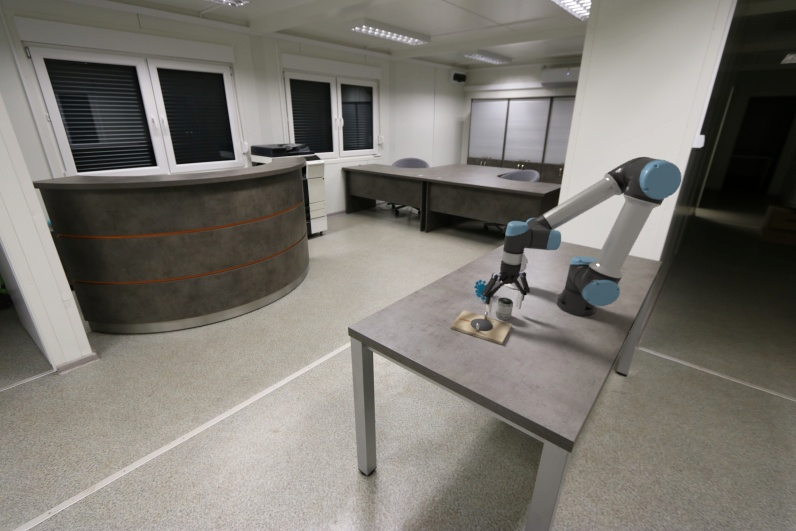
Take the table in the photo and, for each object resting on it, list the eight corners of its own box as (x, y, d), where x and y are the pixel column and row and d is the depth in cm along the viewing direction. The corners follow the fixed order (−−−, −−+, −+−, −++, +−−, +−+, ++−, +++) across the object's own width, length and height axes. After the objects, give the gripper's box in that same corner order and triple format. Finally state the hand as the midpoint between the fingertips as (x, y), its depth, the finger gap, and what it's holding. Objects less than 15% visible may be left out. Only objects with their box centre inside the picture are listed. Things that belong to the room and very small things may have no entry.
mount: (511, 326, 137) (512, 323, 137) (501, 344, 126) (502, 341, 126) (463, 312, 147) (463, 310, 146) (450, 328, 136) (450, 325, 135)
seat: (495, 323, 137) (495, 322, 137) (488, 333, 131) (488, 332, 131) (474, 317, 141) (474, 316, 141) (467, 326, 135) (467, 326, 134)
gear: (480, 301, 153) (473, 280, 156) (472, 305, 158) (465, 285, 161) (498, 298, 159) (490, 278, 162) (489, 302, 163) (482, 283, 167)
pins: (487, 319, 140) (488, 312, 139) (478, 332, 131) (479, 325, 130) (484, 318, 141) (485, 311, 140) (475, 331, 132) (476, 324, 131)
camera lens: (502, 322, 141) (505, 304, 138) (491, 314, 146) (494, 298, 143) (514, 318, 143) (517, 301, 140) (503, 311, 148) (505, 295, 145)
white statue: (515, 292, 165) (522, 249, 157) (493, 283, 174) (498, 241, 165) (529, 284, 173) (536, 243, 164) (507, 276, 181) (512, 236, 172)
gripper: (533, 255, 141) (524, 301, 150) (477, 259, 135) (471, 307, 144) (545, 262, 135) (535, 310, 143) (486, 267, 129) (479, 317, 137)
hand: (503, 309), depth 143 cm, fingers open, 13 cm apart
